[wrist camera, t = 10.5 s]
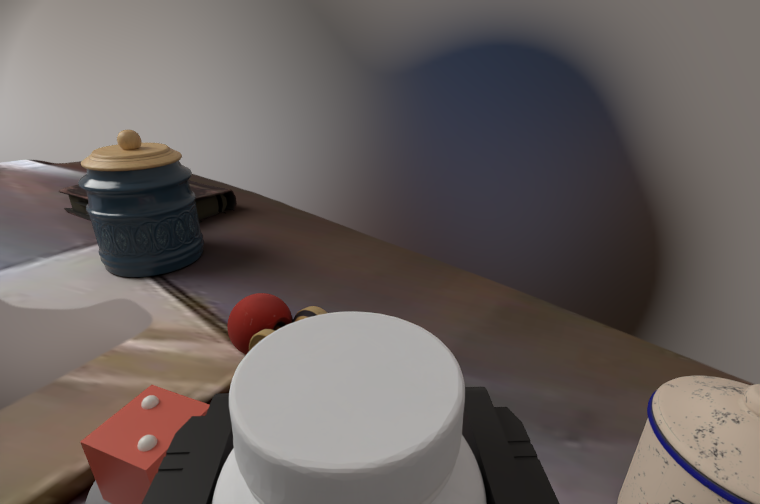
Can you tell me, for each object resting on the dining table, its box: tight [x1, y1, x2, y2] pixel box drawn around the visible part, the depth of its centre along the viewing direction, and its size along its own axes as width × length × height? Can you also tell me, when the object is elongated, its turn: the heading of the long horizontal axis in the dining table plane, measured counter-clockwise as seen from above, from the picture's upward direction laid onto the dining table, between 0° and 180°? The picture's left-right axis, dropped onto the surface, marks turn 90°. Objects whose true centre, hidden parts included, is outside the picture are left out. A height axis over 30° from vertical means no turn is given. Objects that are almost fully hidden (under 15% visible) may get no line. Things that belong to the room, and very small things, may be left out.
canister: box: [78, 130, 204, 277], centre depth 56 cm, size 13×13×18 cm
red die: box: [81, 385, 210, 504], centre depth 27 cm, size 9×9×6 cm
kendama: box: [228, 293, 327, 355], centre depth 38 cm, size 8×6×18 cm
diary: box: [59, 180, 236, 222], centre depth 77 cm, size 19×25×5 cm
